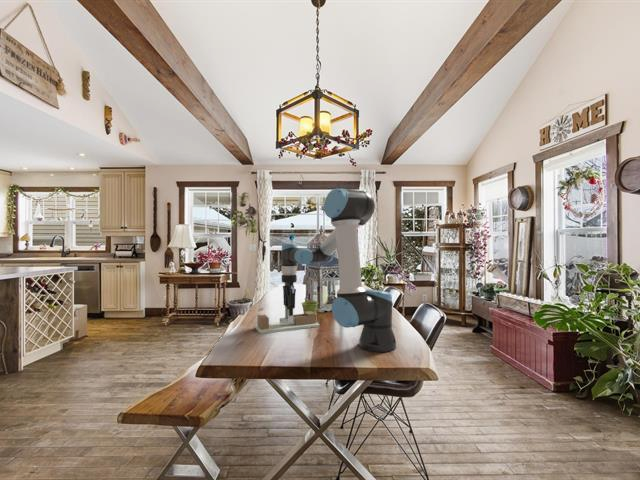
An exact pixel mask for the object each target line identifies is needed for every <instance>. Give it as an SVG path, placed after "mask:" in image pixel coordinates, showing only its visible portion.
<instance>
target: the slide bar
mask: <svg viewBox="0 0 640 480" xmlns="http://www.w3.org/2000/svg"><path fill="white" fill-rule="evenodd" d="M284 308H285V309H284V317H280V318H279V322H280V325H281V326H283V325H292V324H295V317H293V322H288V309H287V308H288V306H285V305H284ZM297 317H300V316H297Z"/></svg>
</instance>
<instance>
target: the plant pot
mask: <svg viewBox="0 0 640 480" xmlns="http://www.w3.org/2000/svg"><path fill="white" fill-rule="evenodd" d="M318 305H319V302H316V301H304V302H301V306H302V311H303V313H304V312H307V311H312V312H313V313H315V314H316V315H317V309H318Z"/></svg>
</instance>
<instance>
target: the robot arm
mask: <svg viewBox="0 0 640 480" xmlns="http://www.w3.org/2000/svg"><path fill="white" fill-rule="evenodd" d="M375 206H376V205H375V200H374V198H373V196H372V195H371V194H370V193H368V192H367V191H365V190H357V189H356V190H355V189H349V188H344V187H342V188H334V189H331V190H330V191H329V192H328V193H327V196H326V197H325V198H324V202H323V210H324V211H323V212H324V214H325V215H326V217H328V218H330V224H331V225H332V226H333V227H334V229H333V230H332V231H331V232H330V234H328V236H327V237H326V238H325V239H324V240H323V241H322V242H321V244H319V246H317V247H297V244H296V243H282V244H281V253H280V254H281V272H280V273H281V283H284V285H282V292H283V293H282V294H283V295H282V296H283V305H284V307H285V306H288V308H287V309H288V322H293V315H294V309H295V308H296V292H297V289H296V288H295V285H294V283H297V281H298V280H297V278H298V277H297V274H298V273H297V271H298V267H297V265H298V264H299V265H308V264H315V263H316V264H318V263H328V262H332V261H333V259H334V257H335V252H336V251H337V263H338V265H337V266H338V277H339V289H338V290H337V292H336V298H335V299H333V301H332V303H331V313H332V316H333V319H334V320H335V322H336V323H337V324H338V326H340V327H343V328H344V329H345V328H346V329H347V328H355V327H359V326H363V327H362V331H361V333H360V337H359V339H358V346H359V347H360V349H363V350H365V351H370V352H375V353H377V352H378V353H385V352H391V351H394V350H396V349H397V340H396V338H395V334H394V330H393V299H392V298H393V296H392V293H390V292H388V291H385V290H379V289H378V290H377V289H365V288H364V287H363V283H362V271H361V269H362V268H361V259H360V247H359V236H358V235H359V234H358V230H359V228H360V227H361V226H362V227H363V226H365V225H366V224H367V223H368V222H369V221H370V220H371V218H372V217H373V215H374V212H375V209H376V207H375Z"/></svg>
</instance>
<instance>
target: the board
mask: <svg viewBox="0 0 640 480" xmlns="http://www.w3.org/2000/svg"><path fill="white" fill-rule="evenodd" d="M297 316H300V317H297ZM293 317H295V324H292V325H283V326H281V325H280V321H279V322H272V323H271V322H270V317H268V316H267V315H266V314H259V315H258V314H257V324H255V325H254V328H255V329H256V330H257V331H258V333H259V334H260V335H261V334H262V335H263V334H270V333H271V334H272V333H279V332H286V331H289V332H290V331H295V330H296V329H297V330H303V328H306V329H312V328H311V327H315V328H320V324H319V323H318V322H317V313H316V314H315V313H313V312H312V311H307V312H303V313H298V314H293Z"/></svg>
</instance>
